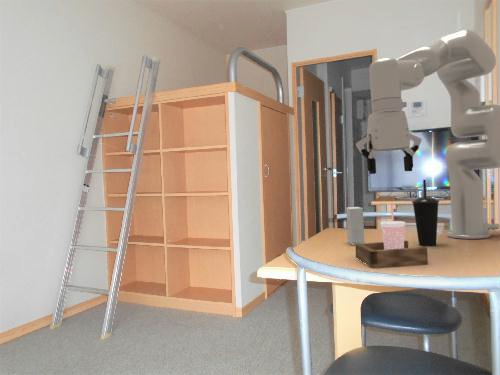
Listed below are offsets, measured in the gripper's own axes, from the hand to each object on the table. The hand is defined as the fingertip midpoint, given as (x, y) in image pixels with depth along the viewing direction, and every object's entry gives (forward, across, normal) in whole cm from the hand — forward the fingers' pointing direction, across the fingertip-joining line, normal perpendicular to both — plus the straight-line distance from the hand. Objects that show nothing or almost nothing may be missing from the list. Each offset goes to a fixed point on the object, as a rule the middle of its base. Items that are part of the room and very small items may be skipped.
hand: (390, 172), depth 104 cm
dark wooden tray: (+23, +3, +3) cm, 23 cm away
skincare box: (+23, +3, -25) cm, 34 cm away
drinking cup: (+24, -16, -15) cm, 32 cm away
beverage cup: (+22, +2, +3) cm, 22 cm away
